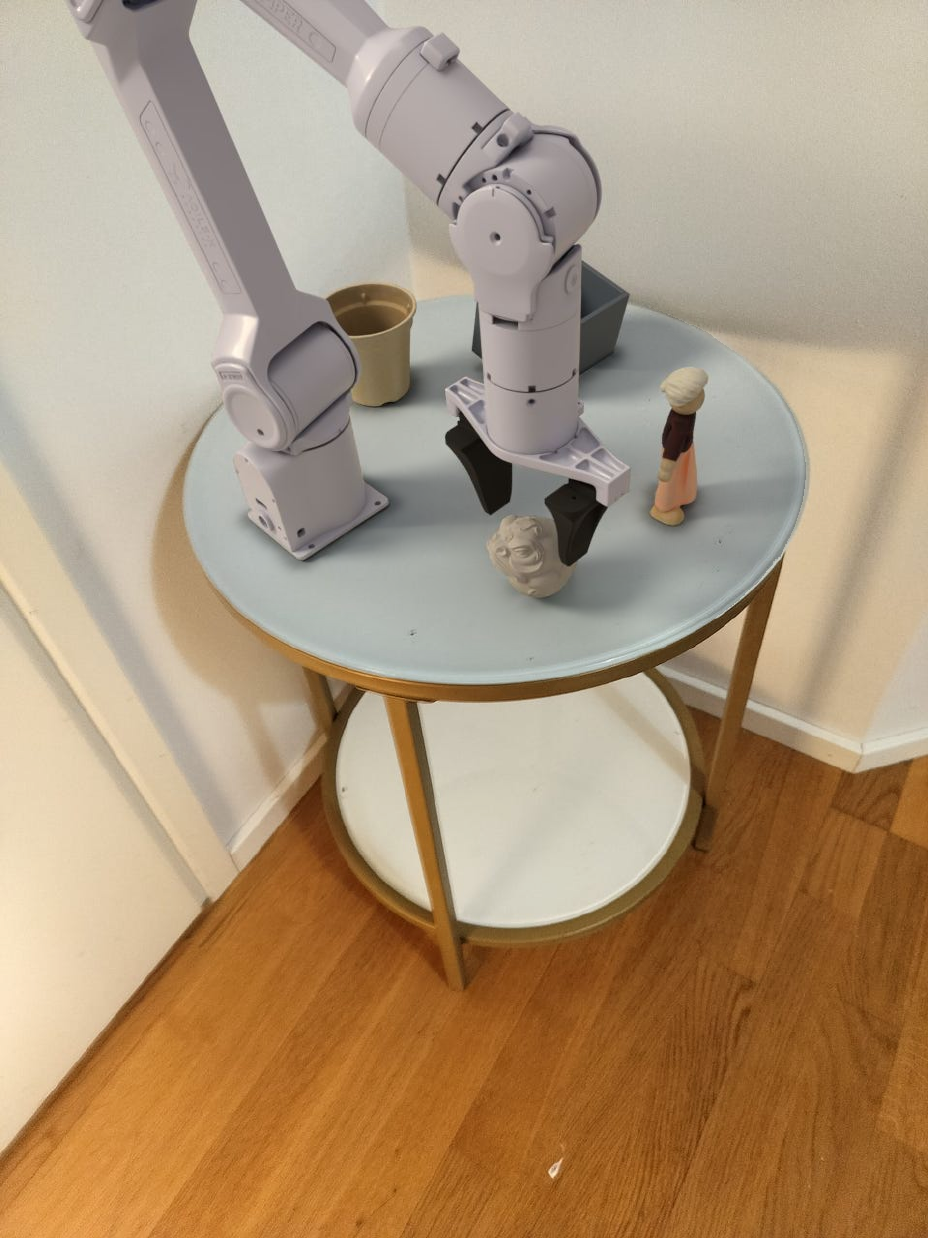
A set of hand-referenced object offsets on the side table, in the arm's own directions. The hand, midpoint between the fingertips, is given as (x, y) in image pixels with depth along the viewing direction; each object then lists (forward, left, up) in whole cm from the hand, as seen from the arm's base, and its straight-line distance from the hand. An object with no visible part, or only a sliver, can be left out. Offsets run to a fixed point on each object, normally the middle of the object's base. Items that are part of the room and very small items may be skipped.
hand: (534, 531), depth 62 cm
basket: (+22, +22, -5) cm, 32 cm away
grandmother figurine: (+14, -1, -6) cm, 16 cm away
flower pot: (+8, +30, -6) cm, 31 cm away
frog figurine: (0, 0, -6) cm, 6 cm away
